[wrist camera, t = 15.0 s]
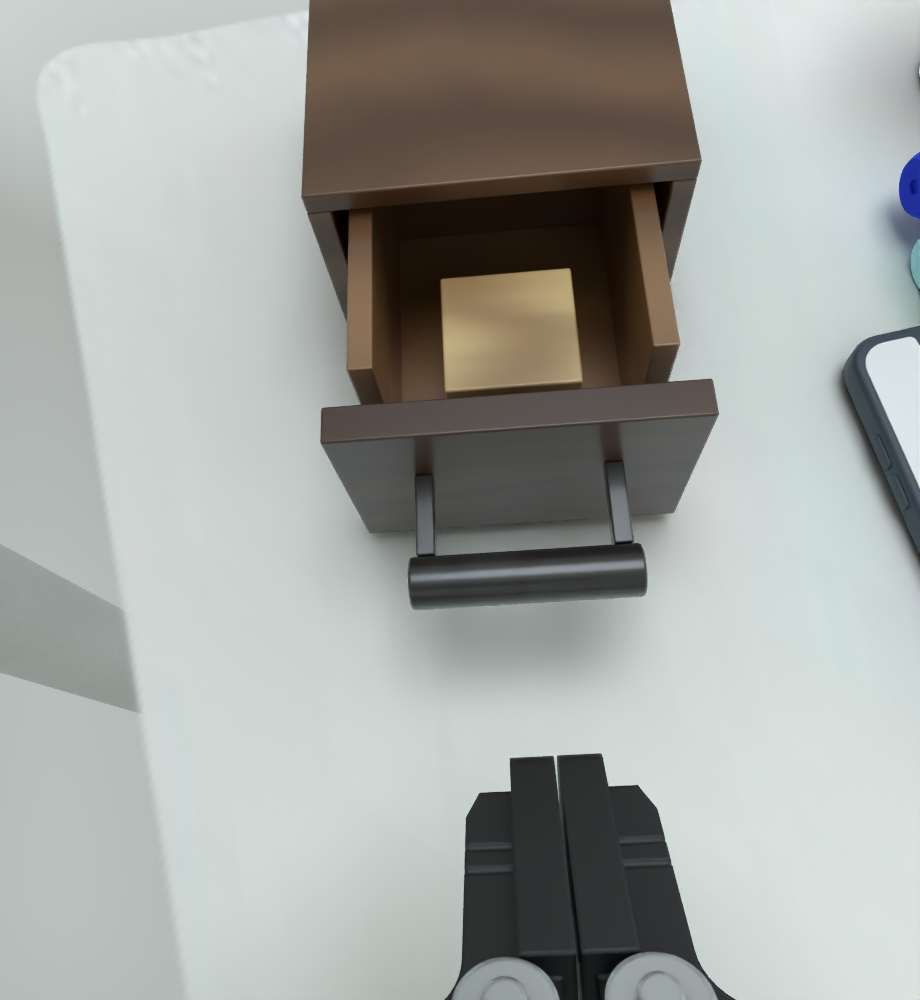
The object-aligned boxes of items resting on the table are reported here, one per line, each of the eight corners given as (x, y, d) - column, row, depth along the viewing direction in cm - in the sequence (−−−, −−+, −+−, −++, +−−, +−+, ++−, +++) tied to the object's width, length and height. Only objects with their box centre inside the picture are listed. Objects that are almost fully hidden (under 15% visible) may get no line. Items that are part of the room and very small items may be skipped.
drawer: (691, 628, 28) (746, 560, 21) (368, 646, 29) (315, 587, 22) (630, 222, 35) (656, 65, 28) (369, 244, 36) (329, 97, 29)
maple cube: (451, 348, 32) (455, 451, 30) (439, 277, 28) (444, 392, 26) (565, 339, 32) (576, 443, 30) (570, 266, 28) (583, 381, 26)
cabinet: (657, 334, 34) (702, 160, 25) (359, 358, 35) (300, 197, 26) (617, 79, 39) (643, -138, 31) (360, 103, 40) (313, -101, 31)
